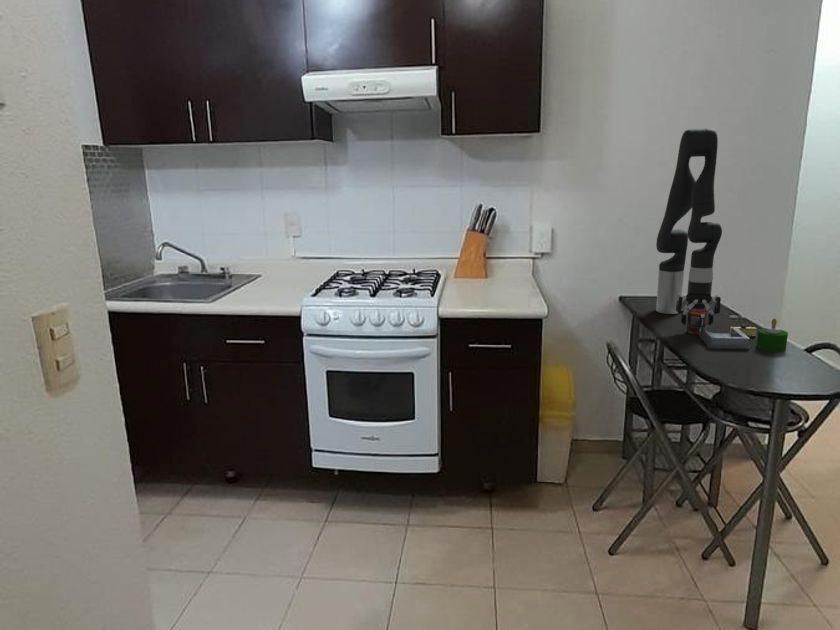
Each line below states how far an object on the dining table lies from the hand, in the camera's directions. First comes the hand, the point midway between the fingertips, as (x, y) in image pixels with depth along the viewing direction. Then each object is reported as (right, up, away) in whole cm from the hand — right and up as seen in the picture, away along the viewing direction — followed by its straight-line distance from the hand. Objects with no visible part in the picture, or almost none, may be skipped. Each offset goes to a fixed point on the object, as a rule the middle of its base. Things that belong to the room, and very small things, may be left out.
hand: (696, 324), depth 208 cm
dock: (+4, -6, -11) cm, 13 cm away
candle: (+16, -8, -18) cm, 25 cm away
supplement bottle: (0, -3, +1) cm, 3 cm away
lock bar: (+14, -4, -5) cm, 15 cm away
